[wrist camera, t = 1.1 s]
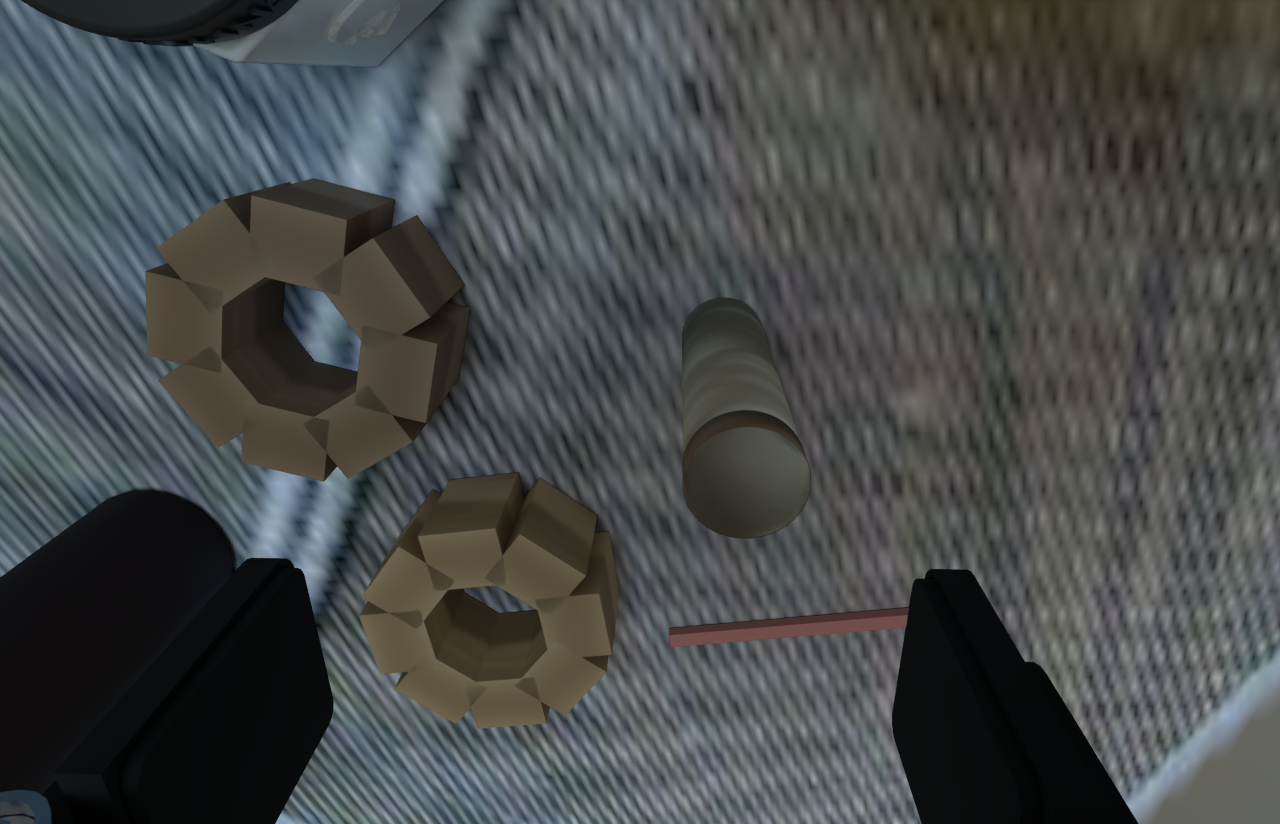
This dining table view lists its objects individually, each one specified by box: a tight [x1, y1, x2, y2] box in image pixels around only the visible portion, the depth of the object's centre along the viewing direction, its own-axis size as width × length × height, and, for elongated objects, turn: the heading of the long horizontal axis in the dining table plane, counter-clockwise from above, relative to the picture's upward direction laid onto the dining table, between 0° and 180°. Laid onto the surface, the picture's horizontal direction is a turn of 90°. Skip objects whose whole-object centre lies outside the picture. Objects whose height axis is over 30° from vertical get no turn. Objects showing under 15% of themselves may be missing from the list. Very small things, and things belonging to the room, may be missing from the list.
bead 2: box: [359, 472, 620, 728], centre depth 33 cm, size 10×10×4 cm
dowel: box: [682, 298, 811, 538], centre depth 25 cm, size 3×3×12 cm
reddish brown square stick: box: [669, 608, 909, 647], centre depth 35 cm, size 12×1×1 cm, turn 98°
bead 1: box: [146, 179, 470, 481], centre depth 28 cm, size 10×10×4 cm
